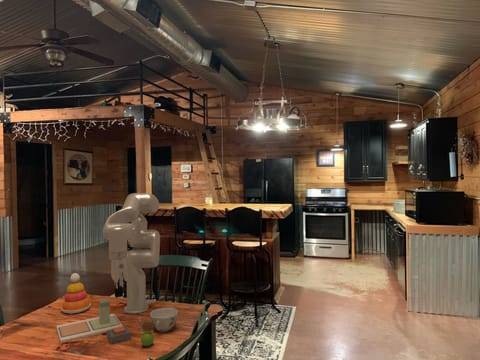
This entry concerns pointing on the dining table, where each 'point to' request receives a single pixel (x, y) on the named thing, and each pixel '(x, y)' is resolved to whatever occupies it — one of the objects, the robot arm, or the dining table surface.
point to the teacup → (164, 318)
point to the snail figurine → (146, 332)
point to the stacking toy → (75, 297)
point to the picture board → (85, 328)
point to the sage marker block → (104, 312)
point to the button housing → (118, 336)
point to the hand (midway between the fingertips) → (118, 296)
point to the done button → (118, 330)
